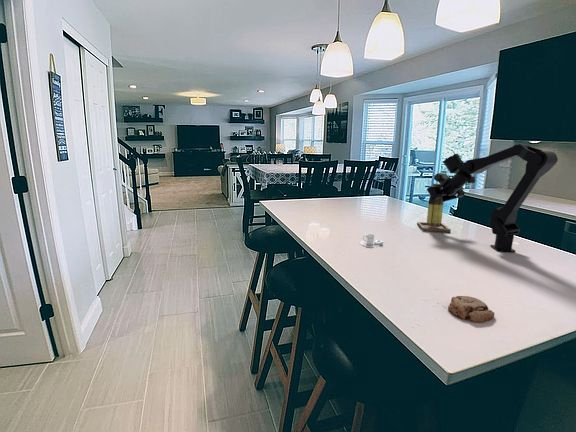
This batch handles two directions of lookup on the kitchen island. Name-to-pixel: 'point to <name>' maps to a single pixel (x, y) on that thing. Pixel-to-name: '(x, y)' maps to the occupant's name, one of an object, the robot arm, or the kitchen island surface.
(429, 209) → the sauce bottle
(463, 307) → the cookie
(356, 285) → the kitchen island surface
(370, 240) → the teacup and saucer
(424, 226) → the square brown tray
